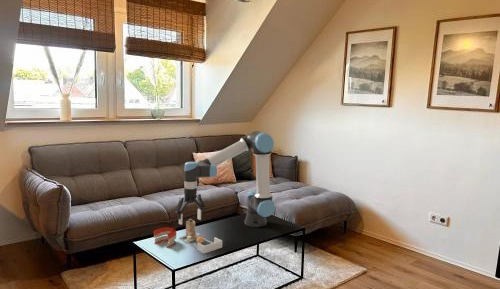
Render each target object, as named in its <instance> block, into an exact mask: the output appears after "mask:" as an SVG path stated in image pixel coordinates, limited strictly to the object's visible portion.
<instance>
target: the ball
mask: <svg viewBox="0 0 500 289" xmlns="http://www.w3.org/2000/svg"><path fill="white" fill-rule="evenodd" d="M202 237H203V236H201V237H198V238H197V240H195V241H196V244H197V243H200V244H203V242H204V240H203V238H204V237H203V238H202Z"/></svg>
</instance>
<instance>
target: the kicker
mask: <svg viewBox="0 0 500 289" xmlns="http://www.w3.org/2000/svg"><path fill="white" fill-rule="evenodd" d="M195 233H196V221H195V220H193V219H192V218H189V219H188V220H186V221H185V236H186V238H185V239H186V241H187V242H189V243H191V242H194V241H196V240H197V238H198V237H199V236H200V233H198V232H197V233H196V234H195Z"/></svg>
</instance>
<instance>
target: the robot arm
mask: <svg viewBox="0 0 500 289" xmlns="http://www.w3.org/2000/svg"><path fill="white" fill-rule="evenodd" d="M274 143H275V142H274V138H273V137H272V136H271V135H270V134H268V133H266V132H264V131H263V132H262V131H259V130H256V131H252V132H250V133H248V134H246V135H245V136H243V137H241V138H240V140H239V141H236V142H234V143H233V144H230V145H228V146H227V147H225V148H223V149H221V150H220V151H218V152H216V153H215V154H212V155H211V156H208V157H207V158H205V159H203V160H202V159H201V160H198V161H187V162H185V163H184V170H183V173H184V175H183V176H184V177H183V178H184V179H183V180H184V182H183V185H184V188H183V193H184V195H183V196H179V200H178V202H177V205H176V208H175V210H174V213H175V214H177V219H178V224H179V225H183V212H184V210H185V208H186V207H187V206H188V205H189V204H193V203H194V204H195V205H196V206H197V207H198V208H197V215H196V216H197V218H196V219H197V220H198V221H201V220H202V213H203V210H204V208H206V206H205V203H204V201H203V198H202V195H201V194H200V193H198V191H197V190H198V189H197V187H198V178H199V179H200V178H203V179H204V178H216V176H217V175H218V168H217V167H218V166H219V165H222V164H223V163H225V162H227V161H229V160H231V159H233V158H235V157H236V156H238V155H240V154H242V153H244V152H245V151H247V152H248V151H251V150H252V155H253V156H255V182H256V184H255V186H256V190H250V191H248V192H247V197H246V198H247V208H246V209H247V210H246V211H247V212H246V216H245V219H244V224H245V226H246V227H247V226H248V227H251V228H261V227H265V226H266V225H267V218H268V217H271V215H273V214H274V213H275V210H276V204H275V203H274V202H275V201H274V200H273V193H272V192H271V186H270V185H271V184H270V155H271V154H272V149H273V148H274Z"/></svg>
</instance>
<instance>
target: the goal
mask: <svg viewBox="0 0 500 289" xmlns="http://www.w3.org/2000/svg"><path fill="white" fill-rule="evenodd" d="M196 246H197V251H199V252H201V253H202V254H207V253H210V252H213V251H215V250H218V249H222V248H223V240H222V239H220V238H217V237H213V243H209V244H205V245H204V244H203V243H201V244H200V243H197V242H196Z"/></svg>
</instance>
